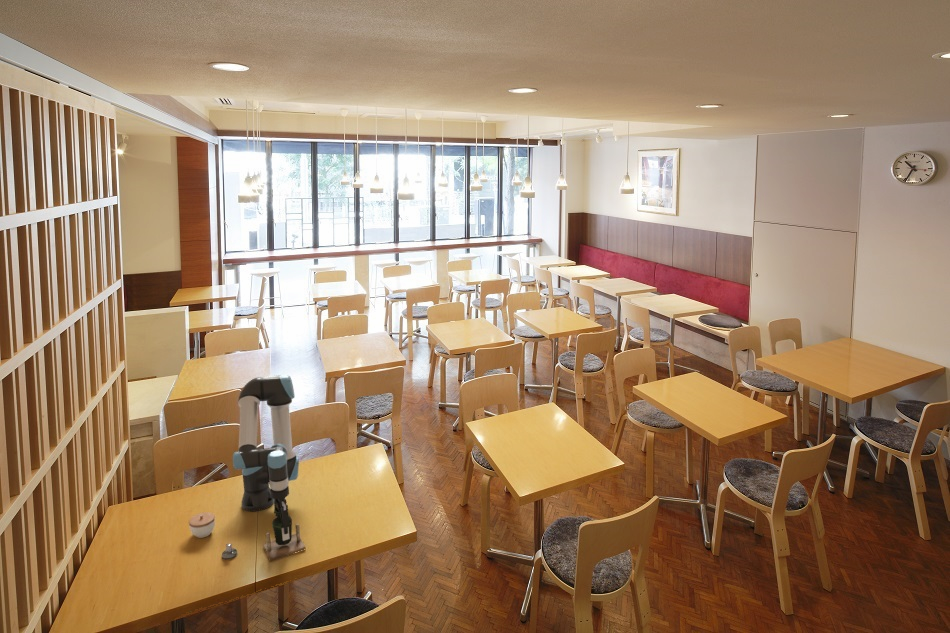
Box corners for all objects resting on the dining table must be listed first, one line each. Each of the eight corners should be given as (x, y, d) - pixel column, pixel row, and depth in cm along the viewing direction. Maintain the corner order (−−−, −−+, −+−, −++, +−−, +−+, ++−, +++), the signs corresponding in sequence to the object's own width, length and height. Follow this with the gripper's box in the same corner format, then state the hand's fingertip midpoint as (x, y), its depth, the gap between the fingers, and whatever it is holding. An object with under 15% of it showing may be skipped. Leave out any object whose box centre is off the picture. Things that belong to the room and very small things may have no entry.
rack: (263, 547, 255) (261, 527, 253) (297, 536, 263) (296, 517, 261) (270, 561, 246) (268, 541, 243) (305, 549, 253) (304, 530, 251)
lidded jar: (191, 543, 258) (188, 524, 256) (190, 530, 267) (187, 512, 265) (217, 536, 263) (215, 518, 261) (215, 524, 272) (213, 506, 270)
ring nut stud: (221, 553, 251) (219, 543, 250) (235, 549, 254) (234, 539, 253) (223, 561, 246) (222, 550, 245) (238, 556, 249) (237, 546, 248)
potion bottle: (277, 535, 258) (274, 498, 253) (296, 535, 257) (293, 498, 253) (270, 546, 250) (267, 508, 246) (289, 546, 249) (286, 509, 245)
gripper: (264, 479, 254) (268, 525, 259) (276, 500, 237) (281, 549, 242) (281, 474, 258) (285, 520, 263) (295, 495, 241) (299, 543, 246)
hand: (283, 534), depth 253 cm, fingers closed on potion bottle, 8 cm apart
